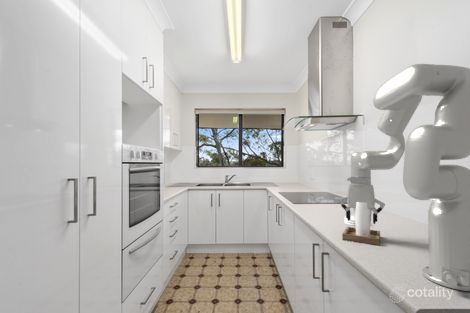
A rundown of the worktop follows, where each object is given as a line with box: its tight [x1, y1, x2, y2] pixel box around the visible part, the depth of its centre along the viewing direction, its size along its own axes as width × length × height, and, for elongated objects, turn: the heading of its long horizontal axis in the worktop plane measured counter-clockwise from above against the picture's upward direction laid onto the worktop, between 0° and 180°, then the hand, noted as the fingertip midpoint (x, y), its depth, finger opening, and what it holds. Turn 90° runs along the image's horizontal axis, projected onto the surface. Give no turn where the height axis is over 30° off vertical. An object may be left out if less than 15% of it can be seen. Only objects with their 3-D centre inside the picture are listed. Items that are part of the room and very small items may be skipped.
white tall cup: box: [353, 202, 373, 237], centre depth 102 cm, size 7×7×15 cm
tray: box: [341, 226, 381, 247], centre depth 102 cm, size 13×13×2 cm
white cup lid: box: [344, 215, 355, 227], centre depth 126 cm, size 10×10×4 cm
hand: (361, 221), depth 102 cm, fingers open, 9 cm apart
